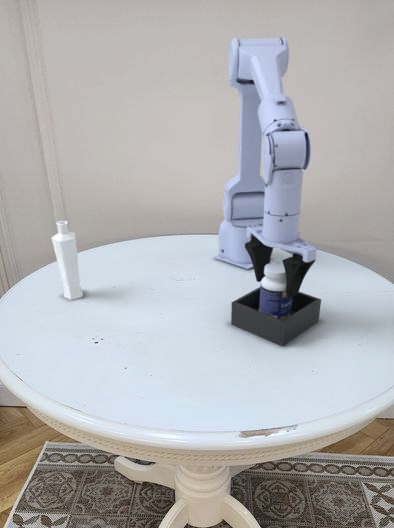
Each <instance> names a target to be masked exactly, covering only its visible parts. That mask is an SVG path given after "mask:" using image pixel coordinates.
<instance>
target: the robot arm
mask: <svg viewBox="0 0 394 528" xmlns="http://www.w3.org/2000/svg"><path fill="white" fill-rule="evenodd" d="M289 60H290V48H289V42H288V40H287V39H286V38H285V37H284V36H280V37H266V38H263V37H262V38H261V37H259V38H237V37H234V38H232V40H231V41H230V42H229V46H228V69H227V70H228V74H227V75H228V78H227V79H228V82H229V83H228V84H229V86H230V87H232V88H234V89H236V90H237V93H238V98H239V99H238V101H239V103H238V104H239V105H238V107H239V108H238V142H237V143H238V146H237V149H238V150H237V152H238V153H237V174H236V175H235V176H234V177H232V178H231V179H230V180H228V181H227V182H226V183H225V184H224V187H223V190H224V191H223V196H222V211H223V212H222V213H223V218H224V219H223V220H222V221H221V223H220V225H219V228H218V255H216V257H215V258H216V260H219V261H222V262H224V263H228V264H231V265H234V266H237V267H240V268H243V269H246V270H251V269H252V268H253V271H254V277H255V281H256V282H257V283H261V280H262V279H263V278H264V277H265V274H264V268H265V265H267V264H269V263H271V258H272V254H273V251H274V249H278V250H281V251H284V252H286V253H288V254H291V255H292V256H290V257H286V258H284V259H282V261H281V263H283V265H284V268H285V273H286V295H287V296H288V297H292V296H295V295H298V292H300V289H301V287H302V284H303V281H304V279H305V277H306V275H307V273H308V271H309V270H310V269H311V267H312V266H313V264H314V263H315V262H316V259H317V250H318V248H317V247H314V246H312V245H311V244H309V243H308V242H307V241H305V240H304V239H303V238H302V237H301V232H299V226H300V213H301V203H302V202H301V201H302V190H303V179H304V171H306V170H307V169H308V167H309V165H310V162H311V153H312V142H311V137H310V132H309V130H308V129H306V128H305V127H304V125H300V124H299V120H298V117H297V113H296V109H295V105H294V101H293V99H292V98H291V97H290V96H289V95H287V94H285V91H284V85H283V78H284V77H285V74H287V71H288V67H289ZM261 162H262V163H261ZM261 164H262V165H261ZM261 166H262V168H263V169H262V175H261ZM303 170H304V171H303Z"/></svg>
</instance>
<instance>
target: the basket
mask: <svg viewBox="0 0 394 528" xmlns="http://www.w3.org/2000/svg"><path fill="white" fill-rule="evenodd" d="M260 287H261V286H259V287H257V288H254V289H253V290H251V291H250V292H248V293H246V294H244V295H242V296H241V297H239V298H237V299H235V300H233V301H231V312H230V313H231V316H230V319H231V321H230V322H231V323H230V324H231V325H232V326H234V327H236V328H239V329H241V330H243V331H246V332H248V333H250V334H253V335H255V336H257V337H260V338H262V339H265V340H266V341H269V342H272V343H274V344H276V345H279V346H281V347H284V346H286V344H288V343H289V342H291V341H292V340H294V339H295V338H297V337H298V336H300V335H301V334H303V333H304V332H306V331H307V330H308V329H310V328H311V327H313V326H314V325H316V324H318V323H319V322H320V314H321V306H322V305H321V304H322V299H321V298H320V297H319V298H318V297H316V296H313V295H311V294H307V293H305V292H301V291H299V292H298V295H295V296H292V307H291V316H290V317H288V318H287V319H285V320H284V321H283V320H281V319H278V318H276V317H273V316H270V315H268V314H265V313H263V312H260V311H259V303H260Z"/></svg>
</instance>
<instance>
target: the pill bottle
mask: <svg viewBox="0 0 394 528" xmlns="http://www.w3.org/2000/svg"><path fill="white" fill-rule="evenodd" d="M264 274H265V277H264V278H263V279H262V280H261V282H260V286H259V287H260V303H259V311H260V312H263V313H265V314H268V315H270V316H273V317H276V318H278V319H281V320H283V321H284V320H285V319H287V318H288V317H290V316H291V307H292V297H288V296H287V295H286V273H285V268H284V265H283V262H270V263H269V264H267V265H265V268H264Z"/></svg>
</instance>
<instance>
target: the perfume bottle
mask: <svg viewBox="0 0 394 528" xmlns="http://www.w3.org/2000/svg"><path fill="white" fill-rule="evenodd" d="M55 224H56V227H57V232H58V233H56V234H55V235H53V236H52V237H51V242H52V245H53V249H54V253H55V257H56V262H57V265H58V269H59V273H60V277H61V281H62V285H63V288H64V290H63V297H64V298H66V299H68V300H70V301H71V300H76V299H79V298H83V297H84V296H83V295H84V294H83V290H82V288H81V283H80V272H79V261H78V248H77V238H76V237H77V236H76V233H75V232H72V231H69V228H68V227H69V225H68V220H59V221H57V222H56V223H55Z"/></svg>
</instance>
